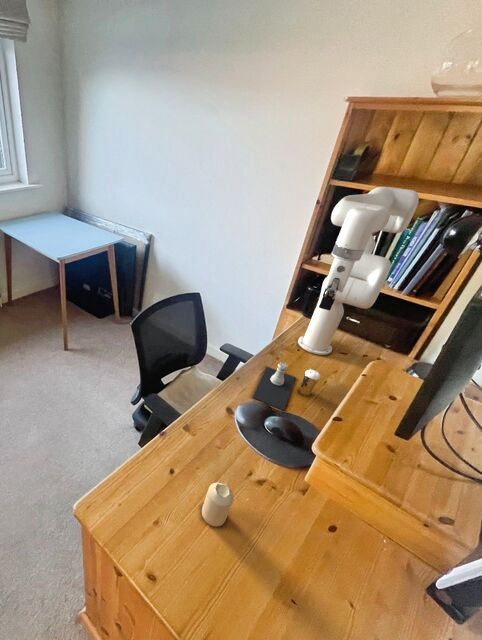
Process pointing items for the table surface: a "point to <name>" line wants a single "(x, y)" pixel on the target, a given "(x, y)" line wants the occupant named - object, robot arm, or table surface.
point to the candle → (217, 504)
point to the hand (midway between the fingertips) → (326, 302)
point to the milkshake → (309, 381)
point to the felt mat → (273, 390)
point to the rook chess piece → (279, 374)
